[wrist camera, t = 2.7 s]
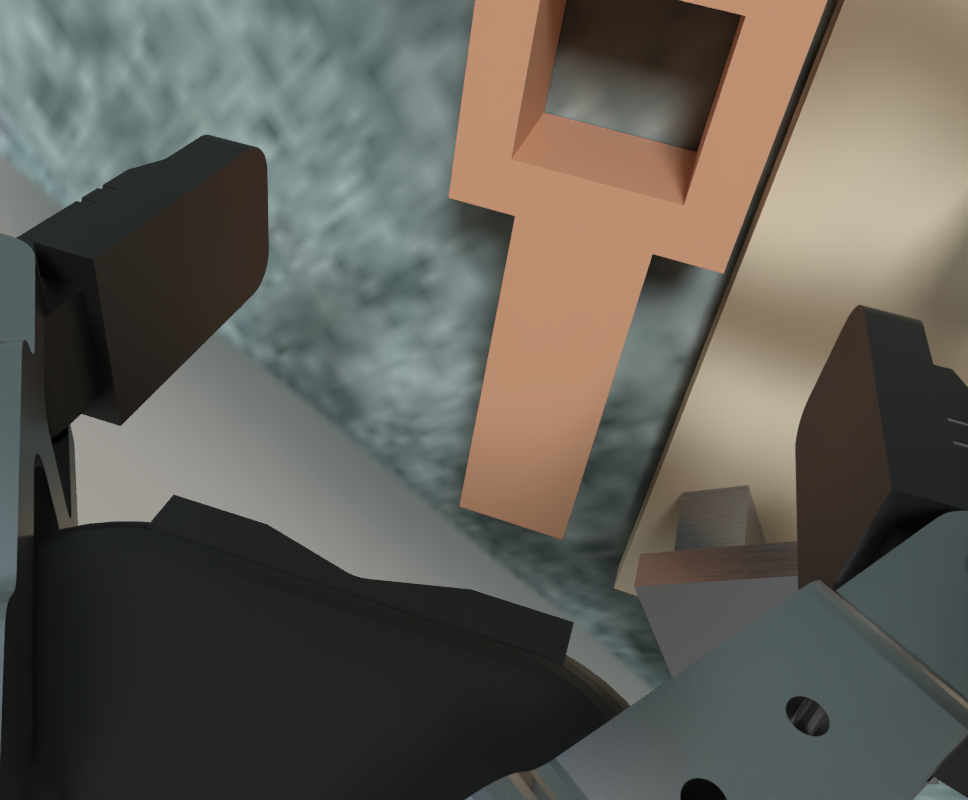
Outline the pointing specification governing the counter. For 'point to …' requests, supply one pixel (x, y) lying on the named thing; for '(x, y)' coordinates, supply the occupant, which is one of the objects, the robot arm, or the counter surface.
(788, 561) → the block
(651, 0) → the counter surface
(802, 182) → the board
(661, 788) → the robot arm
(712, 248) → the link
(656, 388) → the counter surface
